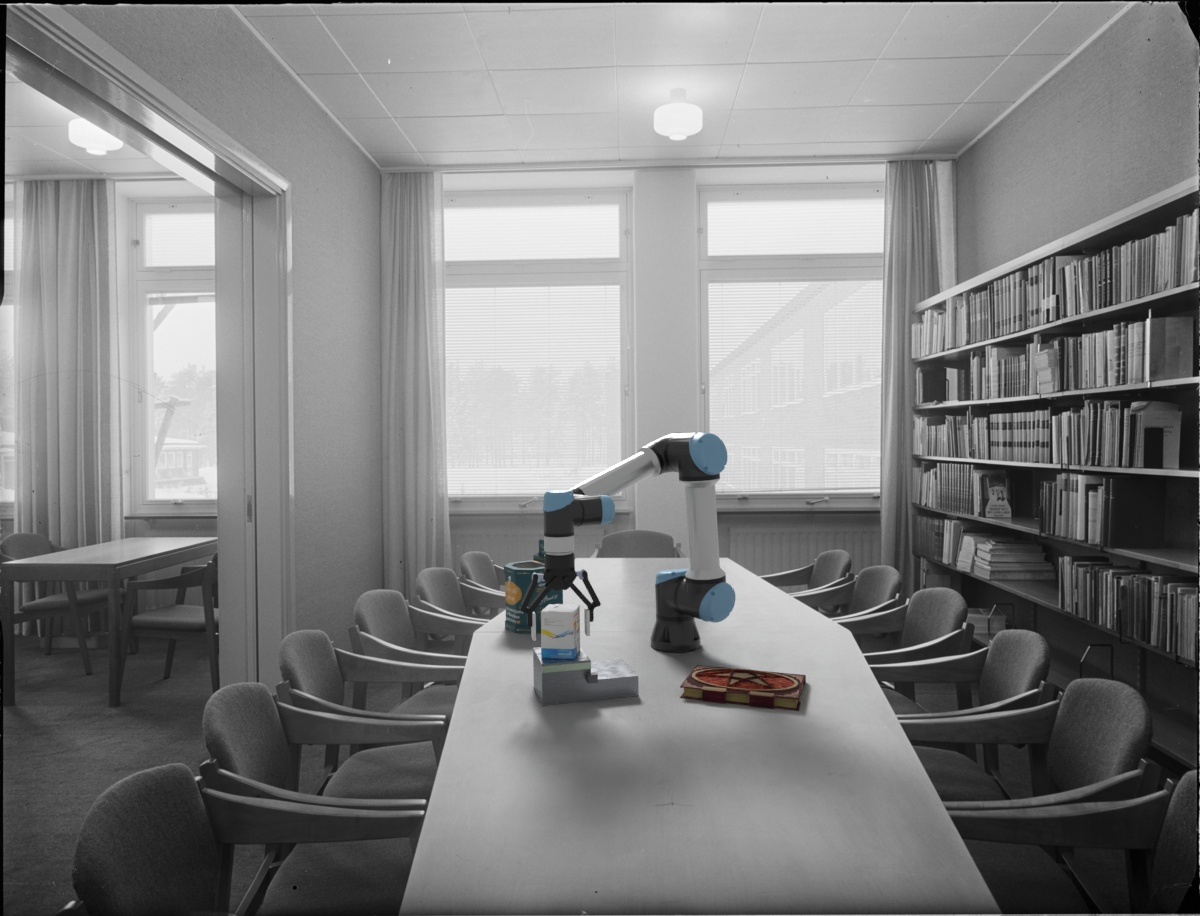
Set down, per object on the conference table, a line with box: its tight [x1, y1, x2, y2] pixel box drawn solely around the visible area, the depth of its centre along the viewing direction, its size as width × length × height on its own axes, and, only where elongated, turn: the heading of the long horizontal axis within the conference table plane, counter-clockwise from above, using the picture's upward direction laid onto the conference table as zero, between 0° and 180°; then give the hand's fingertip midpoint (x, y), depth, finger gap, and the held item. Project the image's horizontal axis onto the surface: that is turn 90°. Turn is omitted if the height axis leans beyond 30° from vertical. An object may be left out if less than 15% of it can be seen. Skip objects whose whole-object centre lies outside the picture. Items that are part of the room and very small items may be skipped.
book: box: [679, 664, 807, 712], centre depth 187 cm, size 28×21×5 cm
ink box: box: [540, 603, 581, 659], centre depth 186 cm, size 9×8×12 cm
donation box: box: [503, 538, 564, 635], centre depth 250 cm, size 16×16×28 cm
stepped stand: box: [532, 645, 640, 707], centre depth 187 cm, size 24×16×10 cm
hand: (560, 637), depth 186 cm, fingers open, 13 cm apart
